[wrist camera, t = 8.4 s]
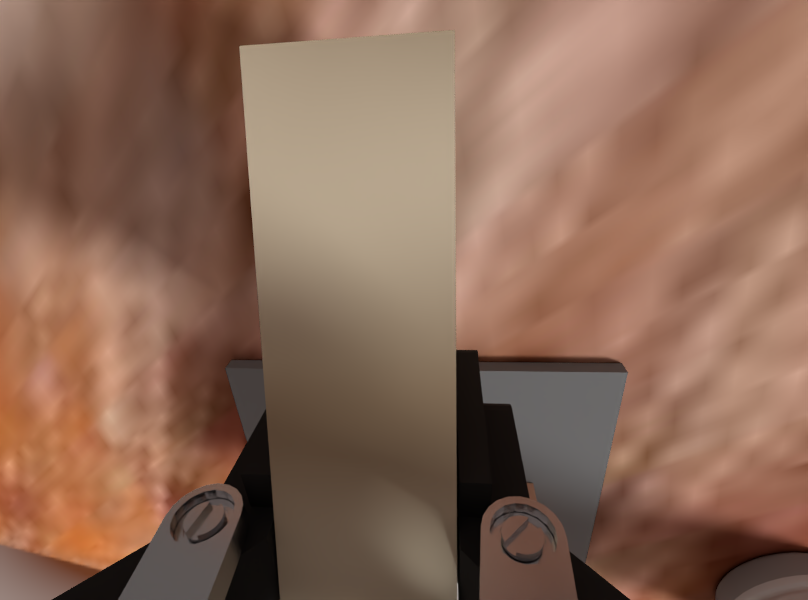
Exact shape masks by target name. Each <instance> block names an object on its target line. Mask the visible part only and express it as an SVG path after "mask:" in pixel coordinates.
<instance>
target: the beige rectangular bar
mask: <svg viewBox="0 0 808 600" xmlns="http://www.w3.org/2000/svg"><path fill="white" fill-rule="evenodd" d="M239 49H240V63H241V76H242V90H243V103H244V117H245V131H246V144H247V158H248V171H249V185H250V198H251V212H252V225H253V239H254V253H255V266H256V280H257V293H258V307H259V320H260V334H261V347H262V361H263V375H264V388H265V402H266V415H267V429H268V442H269V456H270V469H271V483H272V497H273V510H274V524H275V537H276V551H277V564H278V578H279V592H280V600H458V583H457V456H456V228H455V30H448V31H435V32H421V33H408V34H394V35H381V36H367V37H353V38H340V39H326V40H313V41H299V42H286V43H272V44H258V45H245V46H239Z"/></svg>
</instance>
